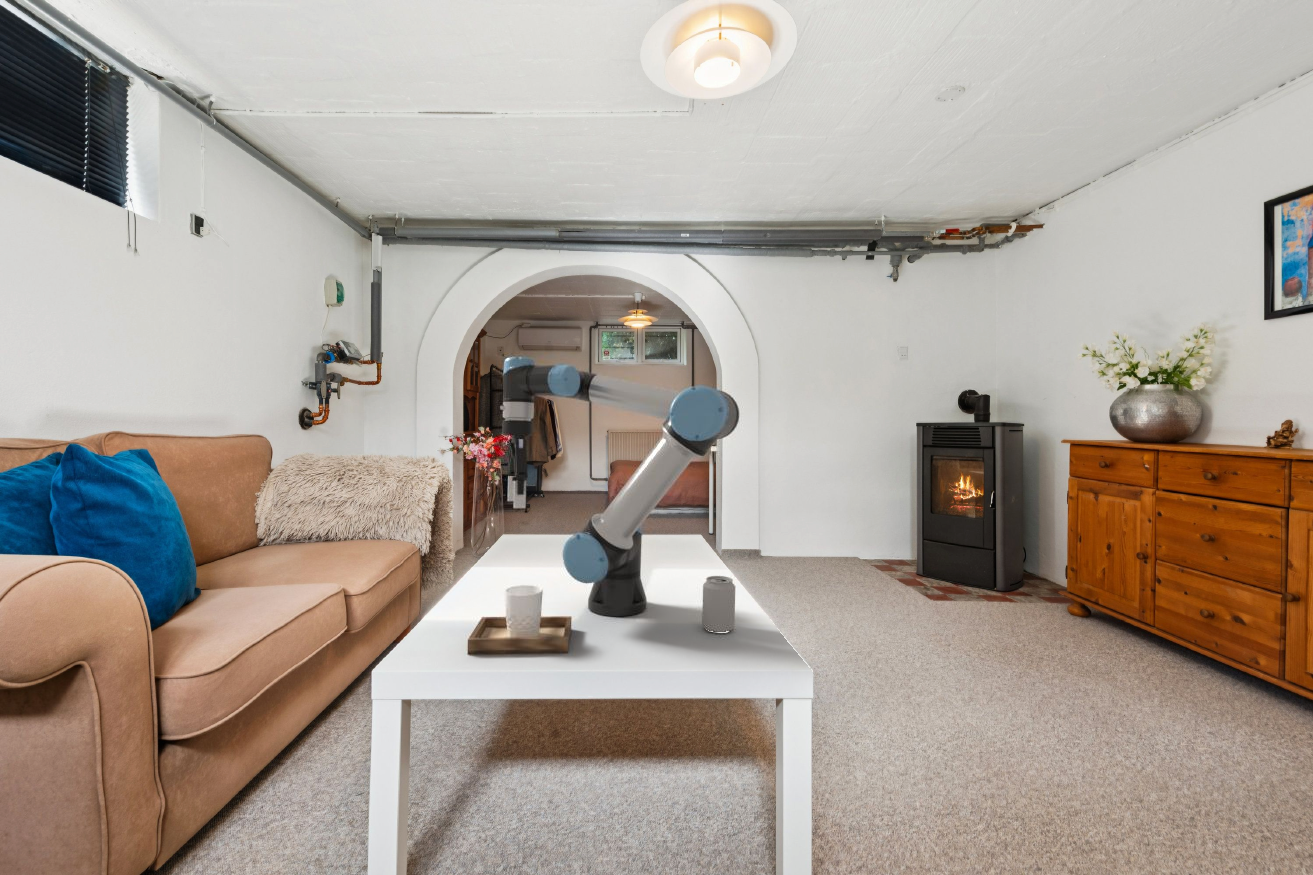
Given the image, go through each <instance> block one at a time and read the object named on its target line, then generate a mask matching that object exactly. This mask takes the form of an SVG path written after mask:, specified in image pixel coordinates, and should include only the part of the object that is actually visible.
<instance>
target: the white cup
mask: <svg viewBox="0 0 1313 875" xmlns="http://www.w3.org/2000/svg"><path fill="white" fill-rule="evenodd" d="M504 593H505V594H504V595H505V598H504V599H505V617H506V625H507V637H538V636H539V629H540V622H541V617H542V606H543V593H544V590H543V588H542V587H541V586H537V585H531V584H530V585H529V584H528V585H527V584H525V585H521V584H520V585H515V586H511V587H509V588H508V587H507V588H506V589H505V590H504Z"/></svg>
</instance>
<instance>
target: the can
mask: <svg viewBox="0 0 1313 875" xmlns="http://www.w3.org/2000/svg"><path fill="white" fill-rule="evenodd" d="M705 580H706V581H704V583H703V584H702V612H701V613H702V614H701V615H702V617H701V622H702V624H701V626H702V627H703V629H705V630H706V629H707V630H709V631H713V632H726V631H730V630H731V631H732V630H733V629H735V622H736V620H735V619H736V618H735V616H736V615H735V614H736V585H735V584H734V583H733V581H734V579H733V578H731V577H729V576H726V575H725V576H724V575H712V576H707V577H706V578H705ZM731 631H730V632H731Z"/></svg>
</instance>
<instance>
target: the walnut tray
mask: <svg viewBox="0 0 1313 875" xmlns="http://www.w3.org/2000/svg"><path fill="white" fill-rule="evenodd" d="M572 619H573V618H572V615H571V616H569V615H567V616H565V615H564V616H557V615H555V616H541V622H540V629H539V636H538V637H507V625H506V616H482V617H481V618H480V619H479V621H478V623H477V624H476V626H475V628H474V629H473V631H472V632H471V634H470V635H469V637H468V638H467V654H469V655H522V654H523V655H527V654H529V655H530V654H535V655H536V654H538V655H539V654H540V655H541V654H568V652H569V646H570V639H571V634H572Z"/></svg>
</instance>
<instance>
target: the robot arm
mask: <svg viewBox="0 0 1313 875" xmlns="http://www.w3.org/2000/svg"><path fill="white" fill-rule="evenodd" d="M502 386H503V389H502V390H503V393H502V394H503V395H502V396H503V397H502V398H503V399H502V405H500V406H499V408H500V410H502V418H504V420H502V426H501V427H502V428H501V430H502V432H501V434H502V435H503V436H511V437H510V438H509V440H508V446H507V447H508V462H507V471H506V472H507V475H508V476H507V477H508V478H507V502H513V509H526V502H527V501H526V498H527V480H528V477H529V475H528V463H527V462H528V459H527V442H528V441H527V439H525V438H524V436H526V437H527V436H528V437H531V436H533V434H534V422H533V421H532V419H534V414H535V411H534V410H535V408H534V407H535V404H534V402H535V401H534V399H535V397H555V398H556V397H558V398H566V399H573V400H579V401H584V402H586V403H592V404H597V405H601V406H605V407H610V408H615V409H620V410H622V411H627V412H632V413H636V414H637V413H638V414H641V415H646V416H650V417H654V418H657V419H662V420H665V421H664V422H663V423H662V425H661V429H662V436H661V437H660V439H659V440H658V441H657V442H656V444H654V446H653V447H652V449H651V450H650V451H649V452H648V454H647V455H646V456H645V458H644V460H643V461H642V462H641V463H640V464H639V466H638V467H637V468H636V470H635V471H634V472H633V474H632V475H631V476H630V478H629V479H628V480H627V481H626V483H625V484H624V485H623V487H622V488H621V489H620V491H619V492H618V494H616V496H615V497H614V499H613V500H612V501H611V503H609V505H608V506H607V508H606V509H605V510H604V511H603V512H602V513H596V514H593V515H592V516H591V518H590V520H588V522H587V523H586V525H585V526H584V527H583V528H582V530H581V531H580V532H576V533H575V534H573V535H572V536H570V537H569V538H568V539H567V540H566V542H565V544H564V545H563V548H562V560H563V565H564V567H565V569H566V572H567V573H568V574H569V576H570V577H571V578H572V579H574V580H576V582H579V583H581V584H592V587H591V590H590V592H589V595H588V601H587V602H588V603H587V609H588V610H589V611H590V612H592V613H594V614H596V615H602V616H607V617H627V616H634V615H639V614H641V613H643V612H645V611H646V610H645V609H647V608H646V607H647V604H648V603H647V602H648V601H647V596H646V593H645V588H644V585H643V582H642V579H641V574H642V573H641V570H642V569H641V567H642V540H643V538H642V536H643V532H642V525H643V523H644V522H645V520H646V519H647V518H648V516H649V515H650V514H651V513H652V512H653V510H654V509H655V508H656V507H657V505H658V504H659V503H660V501H661V500H663V498H664V496H665V495H666V493H668V491H669V490H670V489H671V488H672V486H673V485H674V483H675V482H676V481H677V480H678V479H679V477H681V475H682V473H683V472H684V471H685V470H686V469H687V467H688V466H689V465H690V464H691V462H692V460H694V459H699V458H703V457H705V455H706V454H707V453H708V452H709V450H710V449H711V448H712V446H714V444H715V443H716V442H717V440H721V439H724V438H726V437H728V436H729V435H731V434H732V433H733V432H734V431H735V429H736V428H737V426H738V424H739V422H740V408H739V406H738V403H737V401H736V400H735V399H734V397H733V396H731V395H730V394H729V393H727V392H726V391H723V390H720V389H716V388H715V387H713V386H710V385H709V386H708V385H695V386H689V387H688V388H686V389H683V390H682V391H680V390H677V389H676V390H675V389H670V388H665V387H660V386H655V385H652V384H651V385H650V384H645V383H640V382H637V381H636V382H635V381H631V380H626V379H621V378H617V377H612V376H605V375H602V374H596V373H591V372H589V371H584V370H579V369H578V370H577V368H576V367H575V366H573V365H571V364H562V363H561V364H552V365H551V364H550V365H548V364H547V365H536V364H535V360H534V358H532V357H531V358H530V357H523V356H520V357H519V356H510V357H507V358H505V359H504V362H503V373H502ZM644 610H645V611H644Z"/></svg>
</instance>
